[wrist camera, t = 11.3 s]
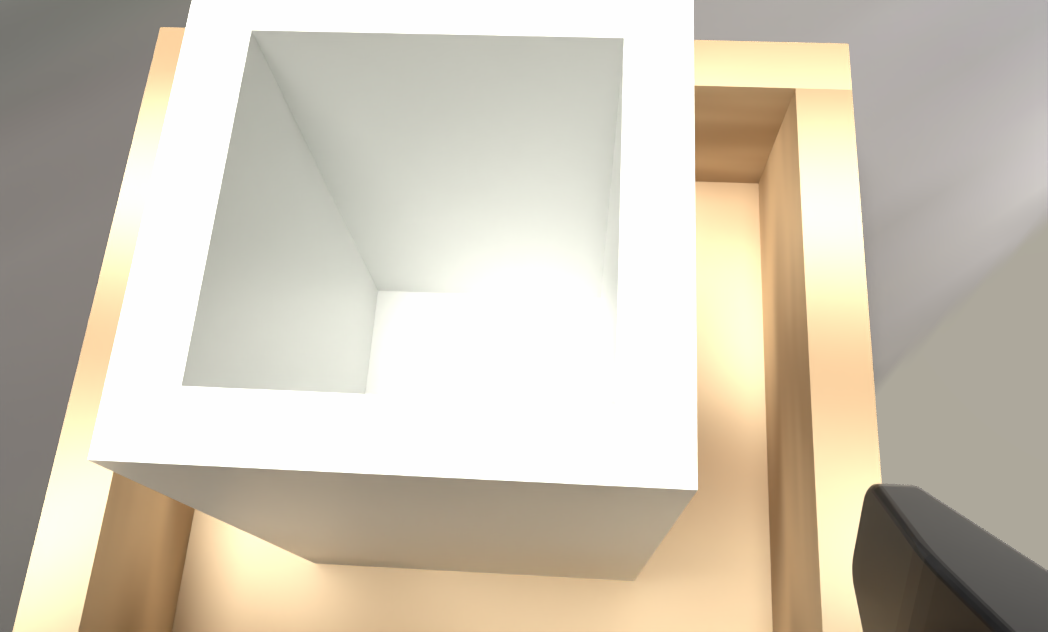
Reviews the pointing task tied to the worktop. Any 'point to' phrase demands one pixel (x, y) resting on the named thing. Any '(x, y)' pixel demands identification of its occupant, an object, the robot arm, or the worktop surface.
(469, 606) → the pine crate
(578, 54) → the white crate
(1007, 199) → the worktop surface
